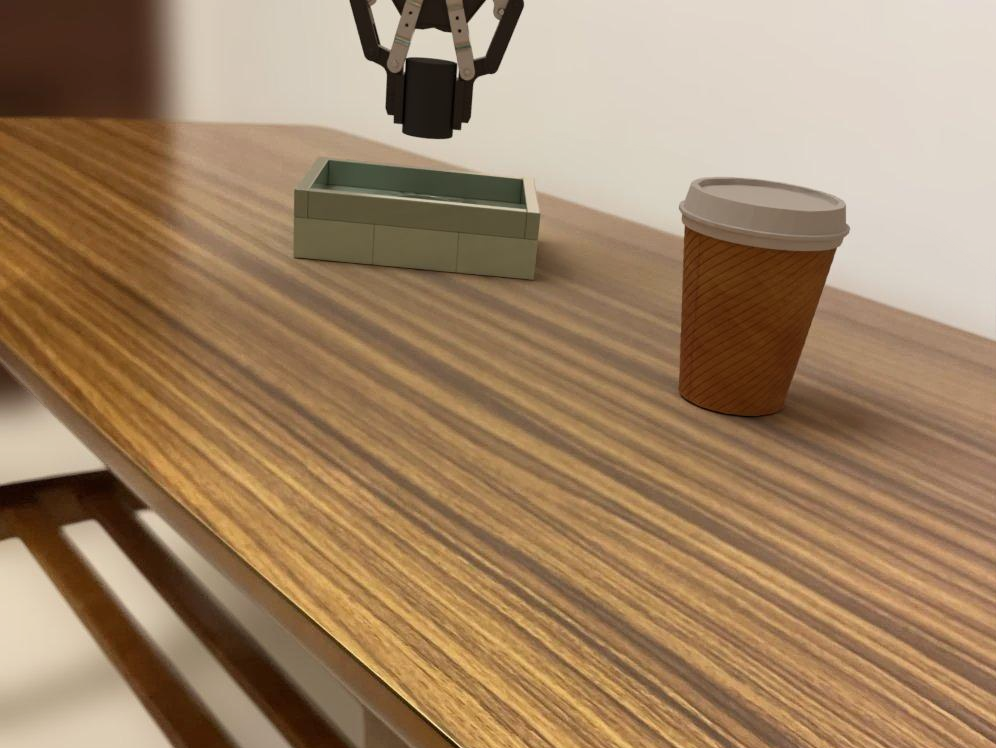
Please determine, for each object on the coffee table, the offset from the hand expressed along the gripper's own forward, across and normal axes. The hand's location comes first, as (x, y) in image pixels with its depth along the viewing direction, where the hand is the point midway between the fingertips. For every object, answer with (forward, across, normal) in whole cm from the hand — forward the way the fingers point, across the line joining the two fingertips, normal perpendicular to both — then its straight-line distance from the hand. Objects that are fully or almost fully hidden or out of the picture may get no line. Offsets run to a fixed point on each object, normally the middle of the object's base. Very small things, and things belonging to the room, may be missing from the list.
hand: (428, 124), depth 97 cm
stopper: (+1, 0, 0) cm, 1 cm away
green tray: (+9, 0, -3) cm, 9 cm away
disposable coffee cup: (+9, +20, -33) cm, 40 cm away
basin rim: (+6, 0, -3) cm, 7 cm away
